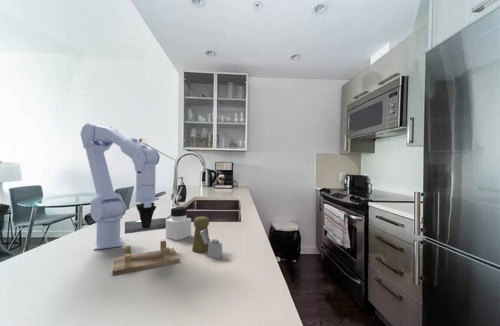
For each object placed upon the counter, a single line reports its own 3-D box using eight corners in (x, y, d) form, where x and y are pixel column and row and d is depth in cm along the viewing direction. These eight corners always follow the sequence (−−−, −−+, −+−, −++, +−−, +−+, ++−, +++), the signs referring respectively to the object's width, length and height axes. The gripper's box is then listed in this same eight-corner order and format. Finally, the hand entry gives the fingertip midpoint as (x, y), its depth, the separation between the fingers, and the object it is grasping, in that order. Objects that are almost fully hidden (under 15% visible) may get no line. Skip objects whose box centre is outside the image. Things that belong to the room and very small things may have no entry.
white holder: (222, 256, 70) (222, 230, 70) (219, 258, 69) (219, 232, 69) (202, 253, 72) (202, 228, 73) (199, 255, 71) (199, 230, 71)
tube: (124, 232, 72) (124, 221, 72) (164, 227, 78) (164, 217, 78) (124, 235, 69) (124, 223, 69) (165, 229, 75) (165, 218, 75)
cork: (206, 253, 73) (206, 219, 73) (188, 252, 74) (189, 218, 74) (212, 247, 79) (213, 215, 79) (196, 245, 80) (197, 214, 80)
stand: (114, 261, 67) (114, 247, 67) (173, 250, 75) (173, 238, 75) (112, 275, 58) (112, 259, 58) (179, 261, 66) (179, 248, 66)
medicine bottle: (191, 236, 91) (191, 206, 91) (177, 240, 85) (177, 209, 85) (179, 233, 95) (179, 204, 95) (165, 237, 89) (165, 207, 89)
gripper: (162, 185, 70) (161, 229, 69) (156, 183, 82) (156, 220, 82) (136, 186, 66) (136, 233, 66) (134, 184, 79) (134, 222, 78)
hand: (145, 226), depth 74 cm, fingers closed on tube, 4 cm apart
